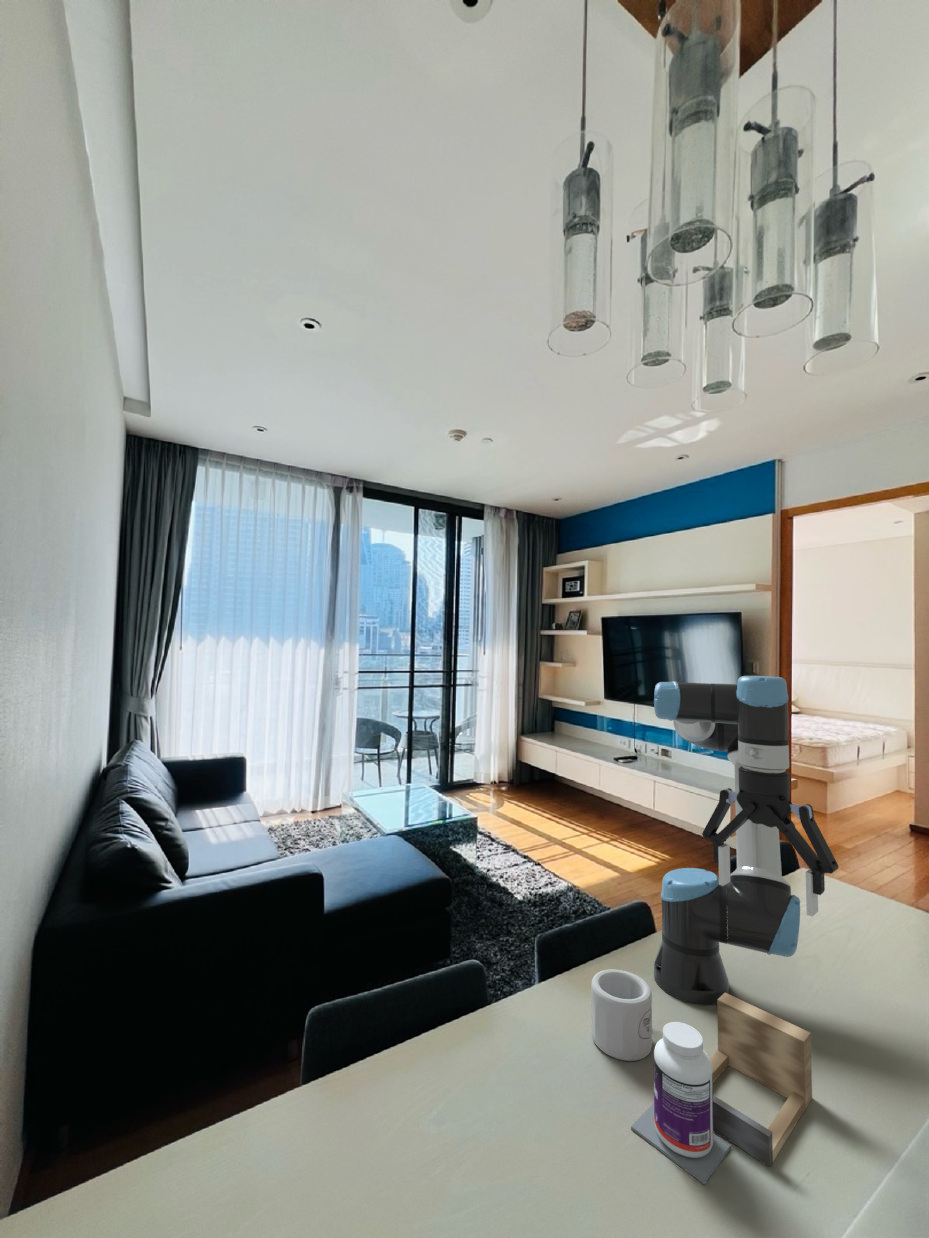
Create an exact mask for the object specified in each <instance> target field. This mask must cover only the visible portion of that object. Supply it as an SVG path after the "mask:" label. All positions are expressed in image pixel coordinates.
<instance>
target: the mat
mask: <svg viewBox="0 0 929 1238" xmlns="http://www.w3.org/2000/svg"><path fill="white" fill-rule="evenodd" d="M630 1130H632V1131H633V1132H634V1133H635V1134H637V1135H638V1136H640V1138H642V1139H643V1140H645V1141H646V1142H647V1143H648V1144H650V1145H652V1147H654V1148H656V1149H657V1150H658V1151H659V1152H660V1153H662V1154H663V1155H664V1156H665V1157H667V1158H669V1159H670V1160H671V1162H673V1163H675V1164H676V1165H677V1166H679V1167H680V1168H682V1169H683V1170H684V1171H686V1172H687V1173H688V1174H689V1175H691V1176H692V1177H694V1178H695V1179H696V1180H697V1181H699V1182H700V1183H701V1184H703V1185H705V1184H706V1183H707V1182H708V1181H709V1179H710V1177H711V1176H712V1174H713V1173H714V1172H715V1170H716V1169H717V1168H718V1166H719V1165H720V1163H721V1162H722V1160H723V1159H724V1158H725V1156H727V1153H728V1152H729V1151H730V1149H731V1148H732V1147H731V1145H732V1144H730V1143H728V1142H727V1141H725V1140H724V1139H723V1138H721V1137H720V1136H718V1135H716V1134H715V1133H714V1132H713V1146H712V1148H711V1150H710V1151H709V1153H708V1154H706V1155H705V1156H703V1157H699V1158H690V1157H686V1156H683V1155H680V1154H678V1153H676V1152H674V1151H673V1150H671V1149H670V1148H669V1147H668V1146H667V1145H666V1144H665V1143H664V1142H663V1141H662V1140H661V1139H660V1137H659V1135H658V1133H657V1131H656V1128H655V1123H654V1102H653V1103H652V1104H651V1105H650V1106H649V1107H648V1108H647V1109H646V1110H645V1111H644V1112H643V1113H642V1114H641V1115H640V1116H639V1118H637V1119H636V1120H635V1121H634V1123H633V1124H632V1125H630Z"/></svg>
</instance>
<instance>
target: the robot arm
mask: <svg viewBox="0 0 929 1238" xmlns="http://www.w3.org/2000/svg"><path fill="white" fill-rule="evenodd" d="M654 687H655V688H654V694H653V695H654V697H653V698H654V699H653V705H654V714H655V717H657V718H658V719H660V720H667V721H671V722H672V721H673V728H674V729H675V731H676V733H677V734H678V735H679V737H680V738H682V739H683V740H685V741H686V742H688V743H690V744H693V745H695V746H697V747H700V748H703V749H708V750H710V751H719V752H726V753H727V755H726V756H727V759H728V761H729V762H730V763H732V764H733V765H734V790H733V789H732V788H729V787H728V788H725V789H721V790H720V791H719V797H718V803H717V804H716V807H715V809H714V811H713V813H712V814H711V815H710V817H709V820H708V822H707V823H706V825H705V828H704V829H703V831H702V833H701V835H702V837H703V839H708V840H709V841H710V842H712V844H713V845H712V846H713V861H714V863H717V864H718V875H717V874H715V873H714V872H712V871H711V870H706V869H703V868H695V867H685V868H684V867H683V868H675V869H673V870H670V871H668V872H666V874H665V875H663V878H662V880H661V893H660V898H661V935H662V936H661V942H660V945H659V948H658V950H657V954H656V956H655V960H654V962H653V963H654V964H653V977H654V978H653V979H654V981H655V982H656V984H657V985H658V986H659V988H661V989H662V990H663V991H664V992H666V993H668V994H669V995H670V996H672V997H674V998H676V999H679V1000H681V1001H683V1002H687V1003H689V1004H690V1003H691V1004H696V1005H701V1006H702V1005H704V1006H709V1005H713V1006H714V1005H717V999H719V998H720V997H721V996H722V995H723V994H724V993H727V994H729V995H730V983H729V982H730V981H729V978H728V975H727V971H726V968H725V966H724V963H723V962H724V961H723V959H722V956H721V953H720V943H722V944H726V945H730V946H734V947H739V948H743V949H748V950H752V951H755V952H756V951H757V952H760V953H761V952H762V953H765V954H767V955H775V956H779V957H780V956H781V957H786V958H787V957H789V958H790V957H792V956H794V955H795V954H796V952H797V948H798V944H799V943H798V941H799V935H800V924H801V923H800V922H801V899H800V898H799V897H798V896H796V895H795V894H792V890H791V885H790V883H789V882H788V881H787V880H786V879H785V878H784V877H783V876H782V861H781V859H782V858H781V844H780V841H781V840H780V833H781V834H782V835H784V837H785V839H786V840H787V841H788V842H789V843H790V844H791V846H792V847H793V849H794V850H795V851H796V852H797V854H798V855H799V857H800V858H801V859H802V860H803V862H804V863H805V864H806V865H807V867H808V868H809V869H808V870H806V871H805V896H806V897H805V903H806V904H805V905H806V916H809V917H813V916H815V915H816V914H817V913H819V896H821V895H822V894H824V892H825V890H826V888H825V887H826V885H825V883H826V881H825V874H829V875H830V874H833V873H834V872H835V871H837V870H838V869H839V864H838V862H837V860H836V858H835V857H834V854H833V853H832V850H831V849H830V847H829V844H828V843H827V841H826V839H825V837H824V835H823V833H822V831H821V829H820V828H819V826H818V823H817V822H816V820H815V815H814V808H813V806H812V805H811V804H808V803H806V804H804V805H801V804H793V803H792V801H791V798H790V794H791V787H790V786H791V785H790V773H789V772H788V769H790V749H789V747H790V746H789V745H790V744H789V720H788V719H789V711H788V710H789V709H788V708H789V707H788V703H789V699H790V698H789V697H790V696H789V693H788V686H787V681H786V679H785V678H783V677H780V676H771V675H770V676H769V675H768V676H767V675H764V676H763V675H743V676H740V677H739V678H738V679H737V683H705V682H704V683H702V682H701V683H700V682H681V681H679V682H678V681H675V680H672V681H660V682H658V683H656V684H655V686H654ZM734 803H735V816H734V818H733V819H731V821H730V822H729V823H727V825H726V826H725V827H723V828H722V829H721V831H719V832H718V833H717V831H718V829H719V828H720V827H721V824H722V822H723V820H724V818H725V816H726V815H727V813H728V812H729V810H730V807H731V805H732V804H734ZM792 813H794V814H795V817H796V818H797V819H798V820H799V821H800V824H801V827H802V828H803V830H804V833H805V834H806V836H807V838H808V839H809V840H808V841H810V844H811V846H812V847H811V846H810V844H809V843H808V842H807V840H806V839H805V838H804V836H803V835H802V834H801V833H800V831H799V830H798V829H797V828H796V825H795V823H794V822H793V821H792V819H791V818H790V817H789V816H790V815H791V814H792ZM734 833H735V836H736V838H735V839H736V841H735V844H736V845H735V846H736V868H735V870H733V872H731V849H730V847H731V845H730V844H729V843H725V842H727V840H728V839H729V838H730V837H732V835H734Z"/></svg>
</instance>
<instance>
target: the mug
mask: <svg viewBox="0 0 929 1238" xmlns="http://www.w3.org/2000/svg"><path fill="white" fill-rule="evenodd" d="M590 987H591V988H590V989H591V992H590V993H591V994H590V995H591V996H590V997H591V1000H590V1001H591V1002H590V1003H591V1004H590V1007H591V1010H590V1011H591V1013H590V1021H591V1023H590V1028H591V1030H590V1031H591V1032H590V1033H591V1038H592V1040H593V1043H594V1044H595V1045H596V1046H597V1047H598V1048H599V1049H600V1050H601V1051H602V1052H603V1053H604V1054H606V1055H608V1056H610V1057H612V1058H614V1059H617V1060H621V1061H625V1062H626V1061H627V1062H634V1061H640V1060H643V1059H644V1058H646V1057H648V1055H650V1053H651V1051H652V1047H653V1025H652V1024H653V1020H652V1019H653V1016H652V1015H653V1008H652V1006H653V1005H652V1003H653V1001H652V999H653V995H652V989H651V987H650V986H649V984H648V983H647V982H646V981H645V979H643V978H642V977H641V976H639V975H637V974H635V973H632V972H630V971H627V970H621V969H613V968H611V969H603V970H601V971H599V972H597V973H595V974H594V976H593V978H592V979H591V986H590Z"/></svg>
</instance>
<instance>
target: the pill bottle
mask: <svg viewBox="0 0 929 1238" xmlns="http://www.w3.org/2000/svg"><path fill="white" fill-rule="evenodd" d="M710 1058H711V1057H710V1056H709V1054H708V1053H707V1052H706V1050H705V1049H704V1038H703V1036H702V1035H701V1033H700V1032H699V1030H697V1029H696V1028H694V1027H693V1026H691V1025H689V1024H687V1023H684V1022H679V1021H670V1022H668V1023H666V1024H665V1025H664V1026H663V1027H662V1038H660V1039H659V1040H658V1041H657V1042H656V1044H655V1047H654V1050H653V1070H654V1071H653V1076H654V1077H653V1096H654V1097H653V1103H654V1123H655V1128H656V1131H657V1133H658V1135H659V1137H660V1139H661V1140H662V1141H663V1142H664V1143H665V1144H666V1145H667V1146H668V1147H669V1148H670V1149H671V1150H673V1151H674V1152H676V1153H678V1154H680V1155H683V1156H686V1157H690V1158H699V1157H703V1156H705V1155H706V1154H708V1153H709V1151H710V1150H711V1148H712V1146H713V1133H714V1130H713V1095H714V1094H713V1093H714V1091H713V1090H714V1089H713V1088H714V1085H713V1083H714V1082H713V1068H712V1063H711V1060H710Z"/></svg>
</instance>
